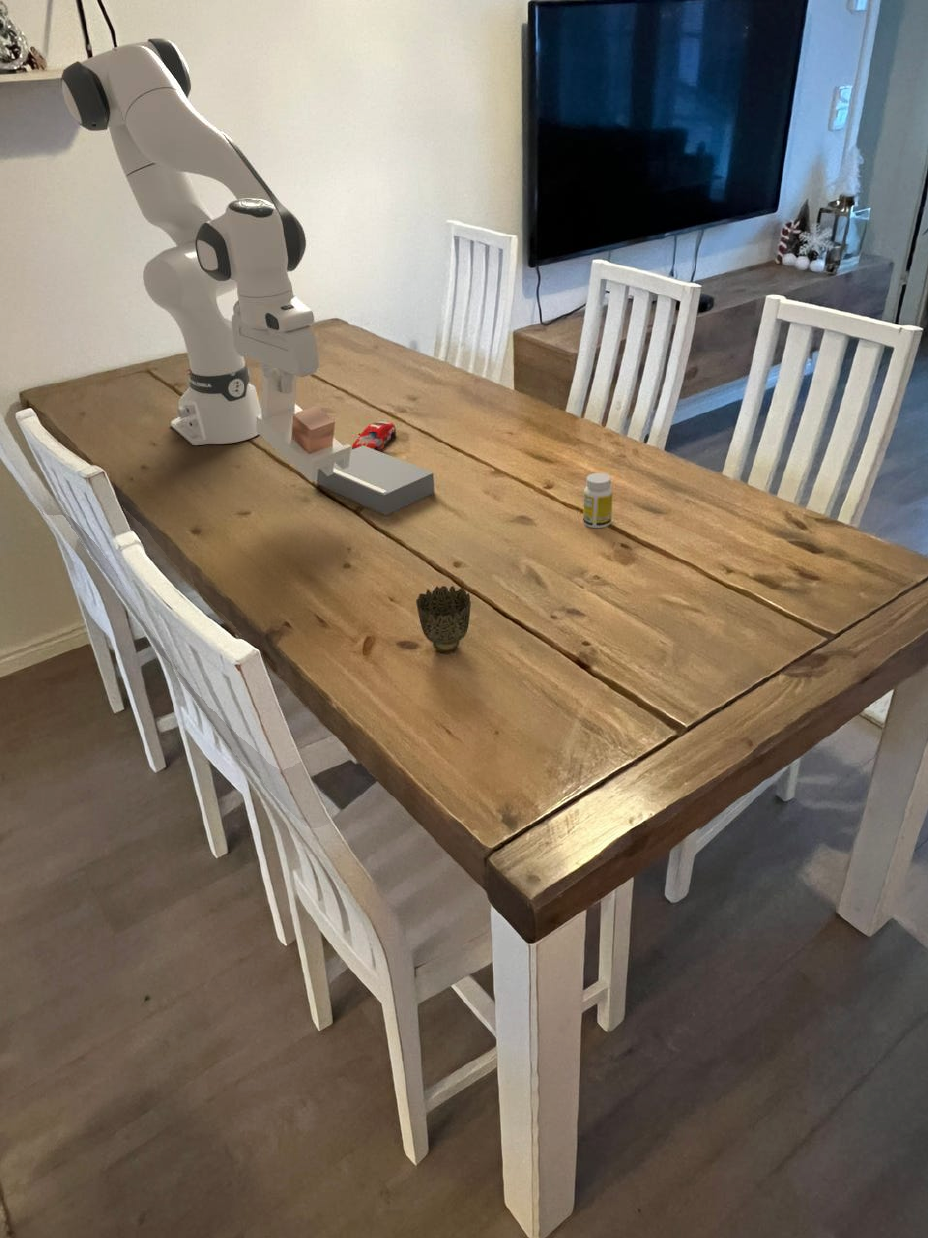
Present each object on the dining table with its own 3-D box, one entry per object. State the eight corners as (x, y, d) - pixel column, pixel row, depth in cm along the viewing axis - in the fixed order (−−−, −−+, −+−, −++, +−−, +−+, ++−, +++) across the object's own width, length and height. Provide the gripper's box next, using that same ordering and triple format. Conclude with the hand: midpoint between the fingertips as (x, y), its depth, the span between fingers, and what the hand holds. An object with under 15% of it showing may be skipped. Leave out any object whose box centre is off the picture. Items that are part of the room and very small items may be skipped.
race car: (371, 460, 182) (370, 441, 180) (348, 457, 184) (346, 438, 182) (401, 435, 192) (399, 417, 190) (378, 432, 194) (376, 414, 192)
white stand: (256, 431, 160) (257, 376, 152) (293, 418, 164) (296, 363, 156) (311, 482, 154) (316, 427, 145) (348, 467, 158) (354, 413, 150)
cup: (418, 634, 129) (415, 587, 125) (470, 630, 130) (468, 582, 125) (421, 665, 123) (417, 616, 119) (475, 660, 124) (473, 612, 119)
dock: (317, 484, 173) (314, 463, 171) (365, 463, 180) (363, 444, 177) (385, 515, 161) (383, 494, 159) (434, 492, 168) (433, 471, 165)
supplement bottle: (613, 518, 157) (615, 473, 152) (607, 530, 153) (610, 485, 148) (586, 514, 158) (587, 470, 153) (580, 527, 154) (581, 482, 150)
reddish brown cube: (291, 438, 155) (292, 414, 151) (314, 429, 158) (316, 405, 154) (309, 454, 153) (311, 430, 150) (332, 445, 156) (335, 421, 152)
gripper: (216, 302, 153) (231, 381, 160) (287, 323, 140) (300, 409, 148) (248, 294, 156) (261, 372, 164) (320, 314, 144) (330, 398, 152)
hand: (280, 390), depth 156 cm, fingers closed on white stand, 2 cm apart
